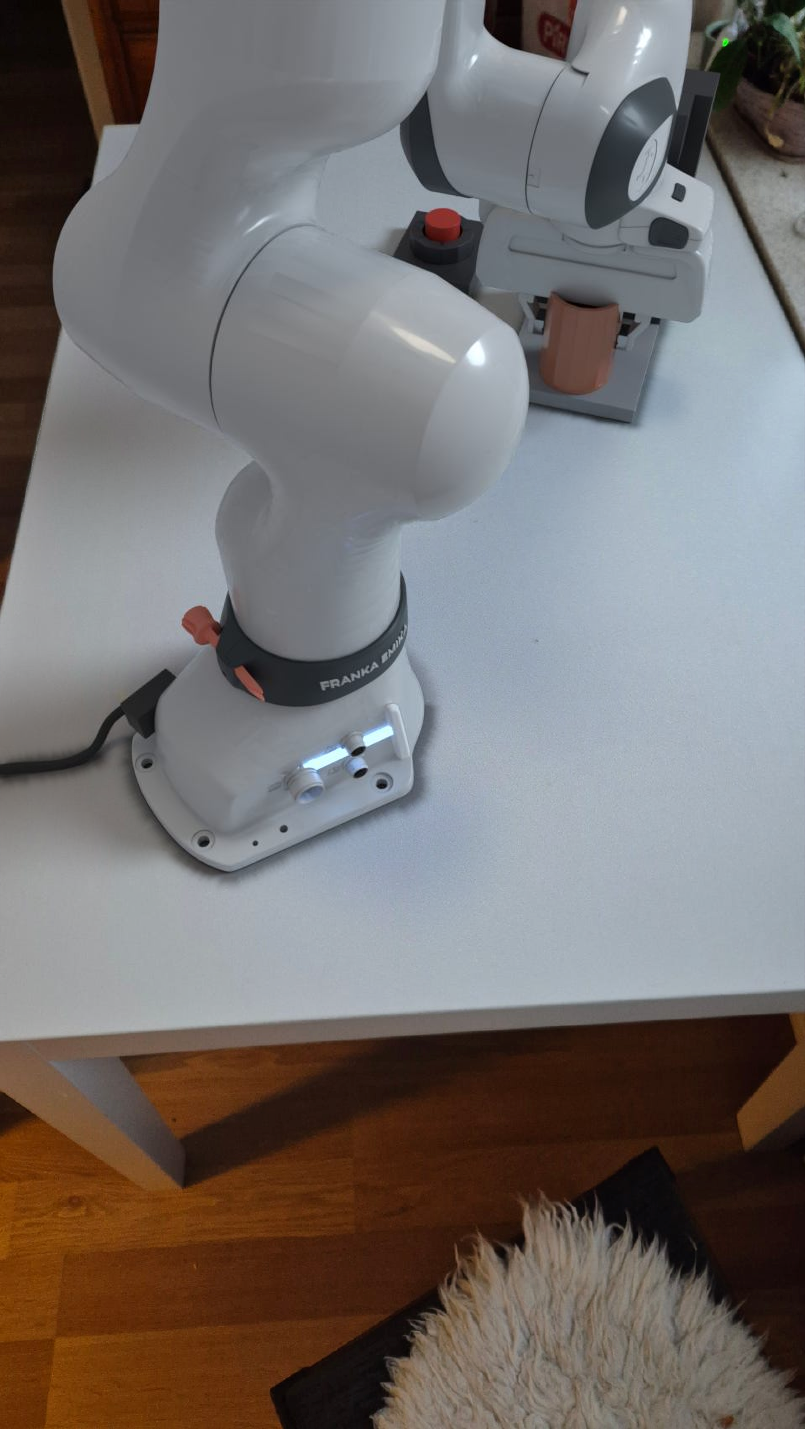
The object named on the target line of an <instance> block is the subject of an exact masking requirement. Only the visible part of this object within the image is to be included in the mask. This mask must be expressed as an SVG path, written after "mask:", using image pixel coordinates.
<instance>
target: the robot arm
mask: <svg viewBox="0 0 805 1429" xmlns="http://www.w3.org/2000/svg"><path fill="white" fill-rule="evenodd" d="M158 6H159V9H158V10H159V11H158V12H159V14H158V17H159V18H158V31H157V32H158V33H157V44H156V53H155V59H154V60H155V61H154V69H153V73H152V77H151V83H150V87H149V92H148V96H147V99H146V103H145V107H144V110H143V113H142V117H141V120H140V123H139V125H138V127H137V131H136V133H135V135H134V138H133V140H132V142H131V145H130V146H129V149H128V151H127V152H126V153H125V156H124V158H123V160H122V161H121V162H120V163H119V165H118V166H117V167H116V169H114V170H113V172H112V173H110V174H109V175H107V176H106V177H105V178H103V179H101V180H100V181H98V182H97V183H96V184H95V185H93V186H92V187H90V189H89V190H87V191H86V192H85V193H84V195H82V197H80V199H79V200H78V202H77V203H76V204H75V206H74V207H73V208H72V210H71V211H70V213H69V215H68V216H67V218H66V219H65V222H64V224H63V227H62V228H61V230H60V234H59V236H58V239H57V243H56V247H55V252H54V256H53V257H54V258H53V264H52V290H53V291H52V292H53V299H54V304H55V308H56V313H57V315H58V318H59V321H60V323H61V326H62V327H63V330H64V331H65V333H66V335H67V336H68V337H69V339H70V340H71V341H72V343H73V344H74V345H75V346H76V347H77V348H79V349H80V350H81V351H82V352H83V353H84V354H85V355H86V356H88V358H90V359H91V360H93V361H94V363H96V364H97V365H98V366H99V367H101V368H102V369H103V370H104V371H105V372H106V373H107V374H109V375H110V376H111V377H113V378H114V379H115V380H116V381H118V382H119V383H120V384H121V385H123V386H124V387H125V388H126V389H127V390H129V391H130V392H131V393H133V394H134V395H135V396H137V397H139V398H140V399H142V400H144V401H146V402H148V403H150V404H152V405H155V407H158V408H160V409H162V410H164V411H165V412H168V413H171V414H172V415H175V416H176V417H179V418H181V419H182V420H185V421H187V422H189V423H191V424H192V425H195V426H197V427H199V428H201V429H202V430H204V431H207V432H209V433H211V434H213V435H215V436H217V437H219V438H221V439H223V440H225V441H227V442H229V443H231V444H232V445H233V446H234V447H236V448H238V449H239V450H241V451H242V452H245V453H246V454H247V456H248V455H249V456H250V457H251V458H252V459H253V460H252V461H250V462H249V463H248V464H246V465H245V466H244V467H243V468H241V470H239V472H237V473H236V475H235V476H234V477H233V479H232V480H231V481H230V483H229V484H228V486H227V487H226V490H225V491H224V494H223V496H222V498H221V500H220V503H219V505H218V509H217V512H216V516H215V521H214V538H215V541H216V545H217V549H218V553H219V557H220V563H221V565H222V570H223V574H224V579H225V582H226V586H227V591H226V595H225V598H224V603H223V607H222V610H221V615H220V617H219V618H220V619H219V621H218V620H215V619H214V617H213V614H212V613H211V611H210V610H209V608H207V607H206V606H203V605H196V606H193V607H191V608H190V609H188V610H187V611H186V612H185V613H184V614H183V617H182V619H181V626H182V627H183V629H184V630H185V631H186V633H188V634H189V635H190V636H192V638H193V641H194V642H195V644H197V646H198V645H199V646H203V647H202V648H201V649H200V650H199V651H198V652H197V654H195V656H194V657H193V658H192V659H191V660H190V661H189V663H188V664H186V666H185V667H184V668H183V669H182V670H181V671H180V673H179V674H177V676H176V675H175V674H173V673H172V672H171V671H170V670H169V669H168V668H164V669H162V670H161V671H160V672H159V673H157V674H156V675H155V676H154V677H152V678H151V679H150V680H149V681H147V682H146V683H145V684H143V685H142V686H141V687H139V688H138V689H137V690H135V691H134V692H133V693H132V694H130V695H129V696H127V698H125V699H124V700H122V701H121V702H120V703H119V706H117V707H116V708H115V709H113V710H112V711H111V712H110V713H109V714H108V715H107V716H106V717H105V719H104V720H103V722H102V724H101V725H100V727H99V729H98V732H97V734H96V736H95V737H94V739H93V741H92V742H91V744H90V745H89V746H88V747H87V748H86V749H84V750H82V751H80V752H78V753H75V754H73V755H70V756H68V757H67V756H66V757H63V758H58V759H50V760H38V761H37V760H35V761H31V760H30V761H17V762H16V761H15V762H6V763H0V775H5V774H13V773H24V772H25V773H26V772H47V771H57V770H63V769H67V768H70V767H74V766H77V765H80V764H82V763H84V762H86V761H87V760H89V759H91V758H93V757H94V756H95V755H96V754H97V753H98V752H99V751H100V750H101V749H102V747H103V745H104V744H105V742H106V740H107V738H108V736H109V733H110V731H111V730H112V728H113V726H114V725H115V723H117V722H118V720H120V719H121V718H122V717H123V716H125V718H126V720H127V722H128V725H129V726H130V727H131V728H132V729H134V730H135V731H136V732H135V734H134V735H133V737H132V743H131V758H132V760H131V761H132V766H133V770H134V774H135V778H136V781H137V783H138V786H139V788H140V791H141V793H142V795H143V797H144V800H145V801H146V803H147V804H148V806H149V808H150V809H151V811H152V813H153V814H154V815H155V817H156V819H157V820H158V821H159V823H160V824H161V825H162V826H163V828H164V829H165V830H166V832H167V833H168V834H169V835H170V836H171V838H173V840H174V841H175V842H176V843H177V844H178V845H179V846H180V847H181V848H182V849H184V850H185V851H186V852H187V853H188V854H190V855H191V856H192V857H194V858H196V859H197V860H198V861H200V862H202V863H204V864H205V865H208V866H209V867H212V868H214V869H217V870H221V871H223V872H235V871H238V870H240V869H243V868H245V867H247V866H249V865H251V864H254V863H256V862H259V861H261V860H264V859H266V858H267V857H270V856H272V855H274V854H277V853H279V852H281V851H283V850H286V849H288V848H290V847H292V846H295V845H297V844H299V843H301V842H304V841H307V840H308V839H310V838H313V837H315V836H318V835H320V834H323V833H324V832H327V831H329V830H330V829H334V828H335V827H337V826H340V825H342V824H344V823H346V822H349V821H350V820H353V819H356V818H358V817H360V816H362V815H365V814H367V813H369V812H371V811H373V810H376V809H378V808H380V807H382V806H385V805H387V804H390V803H392V802H394V801H396V800H398V799H401V798H402V797H404V796H406V795H407V794H408V793H410V792H411V791H412V788H413V786H414V781H415V780H414V779H415V778H414V777H415V775H414V774H415V773H414V762H413V761H414V760H413V754H414V750H415V746H416V744H417V742H418V739H419V737H420V734H421V731H422V728H423V723H424V718H425V699H424V695H423V694H424V693H423V690H422V687H421V684H420V682H419V679H418V677H417V676H416V674H415V672H414V670H413V669H412V667H411V664H410V661H409V657H408V654H407V649H406V640H407V635H408V629H409V611H408V608H409V607H408V595H407V585H406V581H405V580H406V579H405V577H404V575H403V571H402V570H401V557H402V556H401V555H402V554H401V553H402V540H403V539H402V537H403V530H404V526H406V525H410V524H413V523H419V522H436V521H440V520H443V519H444V518H447V517H449V516H452V515H455V514H456V513H458V512H460V511H462V510H464V509H465V508H467V507H469V506H471V504H473V503H474V502H476V500H478V499H479V498H481V497H482V496H483V495H484V494H486V493H487V491H489V490H490V489H491V488H492V487H493V486H494V484H496V482H498V480H499V479H500V478H501V476H502V475H503V474H504V472H505V471H506V469H507V468H508V466H509V465H510V463H511V461H512V460H513V457H515V454H516V453H517V452H516V451H517V450H518V448H519V445H520V444H521V440H522V437H523V435H524V431H525V426H526V423H527V418H528V413H529V404H530V402H529V379H528V369H527V364H526V360H525V355H524V351H523V348H522V346H521V343H520V340H519V337H518V335H519V334H518V333H517V332H516V331H515V329H514V328H513V327H512V326H510V324H508V323H507V322H505V321H504V320H502V319H501V318H499V317H498V316H497V315H495V314H494V313H493V312H491V310H489V309H487V308H486V307H485V306H483V305H482V304H481V303H479V302H477V301H476V300H475V299H473V298H472V297H471V298H470V297H469V296H467V295H466V294H464V293H463V292H461V291H460V290H458V289H457V288H455V287H454V286H452V285H451V284H449V283H448V282H446V281H445V280H443V279H442V278H440V277H439V276H437V275H436V274H434V273H431V272H429V271H426V270H424V269H421V268H419V267H416V266H414V265H411V264H409V263H406V262H404V261H401V260H399V259H396V258H394V257H392V256H391V255H389V254H386V253H383V252H381V251H378V250H376V249H372V248H371V247H368V246H366V245H363V244H360V243H358V242H355V241H353V240H350V239H348V238H345V237H343V236H341V235H338V234H335V233H333V232H330V231H328V230H327V229H325V228H324V227H322V226H321V224H320V221H319V217H318V197H319V191H320V187H321V182H322V179H323V175H324V172H325V169H326V166H327V164H328V161H329V159H330V157H331V155H334V154H337V153H342V152H344V151H347V150H350V149H353V148H355V147H359V146H361V145H363V144H366V143H368V142H371V141H373V140H375V139H378V138H380V137H382V136H383V135H385V134H388V133H389V132H390V131H392V130H393V129H395V128H397V127H398V126H399V140H400V145H401V148H402V151H403V154H404V156H405V158H406V161H407V163H408V165H409V166H410V168H411V170H412V172H413V174H414V176H415V177H416V179H417V180H418V182H419V183H420V185H421V186H422V187H423V188H424V189H425V190H427V191H429V192H432V193H437V194H444V195H448V196H454V197H460V198H465V199H475V200H478V210H477V211H478V217H479V221H481V223H482V224H483V225H484V229H483V232H482V236H481V240H480V245H479V250H478V255H477V262H476V276H477V277H478V279H479V280H478V281H479V282H480V283H481V285H482V286H484V287H487V288H492V289H498V290H503V291H509V292H515V293H518V303H519V305H520V307H521V308H522V310H523V313H524V314H525V317H526V316H527V318H529V321H528V331H527V332H528V333H532V334H537V335H543V333H544V325H545V317H546V309H543V308H540V306H539V304H538V301H537V299H536V296H541V297H547V298H549V297H550V294H551V292H556V293H557V295H558V297H559V298H561V299H562V300H564V301H569V302H574V303H579V304H585V305H590V306H596V307H607V306H609V305H611V304H613V303H617V304H619V311H623V312H629V313H634V314H636V315H635V320H634V321H633V322H632V323H631V325H630V324H623V323H622V325H621V328H620V332H619V334H618V339H617V344H616V349H618V350H622V351H627V352H631V351H632V347H633V344H634V340H635V338H636V337H637V336H638V335H639V334H640V333H641V332H643V331H644V330H645V329H646V328H647V327H648V326H649V325H650V321H651V318H652V317H656V318H661V320H668V321H673V322H679V323H683V324H690V323H692V322H694V321H696V320H697V319H698V318H699V317H701V315H702V313H703V310H704V306H705V303H706V299H707V294H708V289H709V286H710V280H711V275H712V270H713V263H714V262H713V260H714V252H715V251H714V250H715V249H714V248H715V237H714V231H713V229H712V226H711V222H712V218H713V212H714V206H715V192H714V189H713V188H712V187H711V186H710V185H708V184H706V183H705V182H703V181H701V180H699V179H697V178H693V177H691V176H689V175H687V174H685V173H683V172H681V171H680V170H678V169H676V168H674V167H673V166H671V165H669V164H668V163H667V157H668V153H669V149H670V145H671V140H672V135H673V131H674V126H675V121H676V116H677V110H678V106H679V102H680V97H681V92H682V87H683V82H684V76H685V70H686V68H687V63H688V56H689V48H690V40H691V30H692V20H693V19H692V18H693V0H577V1H576V6H575V11H574V15H573V20H572V24H571V28H570V33H569V40H568V44H567V51H566V54H567V56H566V55H565V56H566V62H565V61H563V60H559V59H556V58H553V57H549V56H544V55H540V54H536V53H533V52H527V51H524V50H520V49H516V48H513V47H509V46H508V45H506V44H504V43H503V42H501V41H499V40H498V39H496V38H495V36H492V34H491V33H490V32H489V31H488V30H487V28H486V27H485V24H484V18H485V9H486V0H159V5H158ZM148 764H152V765H151V766H150V767H148V768H145V766H147V765H148ZM380 784H383V785H386V787H385V788H379V787H378V786H379V785H380ZM204 841H207V842H209V843H208V844H207V845H206V846H201V843H202V842H204Z"/></svg>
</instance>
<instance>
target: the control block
mask: <svg viewBox="0 0 805 1429" xmlns="http://www.w3.org/2000/svg"><path fill="white" fill-rule="evenodd" d="M428 212H429V211H423V210H416V211H415V212H414V215H413V216H412V219H411V220H410V222H409V224H408V226H407V228H406V230H405V232H404V234H403V235H402V238H401V239H400V241H399V243H398V245H397V247H396V249H395V251H394V253H393V254H392V256H391V257H394V258H396V259H399V260H401V261H404V262H406V263H409V264H411V265H414V266H416V267H419V268H421V269H424V270H426V271H429V272H431V273H434V274H436V275H437V276H439V277H440V278H442V279H443V280H445V281H446V282H448V283H449V284H451V285H452V286H454V287H455V288H457V289H458V290H460V291H461V292H463V293H464V294H466V295H467V296H469V297H470V298H472V296H473V293H474V292H475V289H476V287H477V284H478V282H479V281H480V280H479V279H478V277H477V276H476V262H477V255H478V250H479V245H480V240H481V236H482V232H483V229H484V225H483V224H482V223H481V221H480V220H475V219H469V218H466V217H464V216H463V215H461V214H459V216H460V235H459V237H458V238H457V239H455V240H453V241H449V242H437V241H431V240H430V239H428V238H427V237H426V235H425V217H426V215H427V213H428Z"/></svg>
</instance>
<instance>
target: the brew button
mask: <svg viewBox="0 0 805 1429" xmlns="http://www.w3.org/2000/svg"><path fill="white" fill-rule="evenodd" d="M427 212H428V213H427V215H426V217H425V235H426V237H427V238H428V239H430V240H431V241H437V242H449V241H453V240H455V239H457V238H458V237H459V235H460V216H459V215H460V214H459V213H458V211H456V210H454V209H452V208H447V207H439V208H434V209H432V210H429V211H427Z"/></svg>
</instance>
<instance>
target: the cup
mask: <svg viewBox="0 0 805 1429" xmlns="http://www.w3.org/2000/svg"><path fill="white" fill-rule="evenodd" d="M623 313H624V312H623V311H619V304H617V303H613V304H611V305H609V306H607V307H596V306H590V305H585V304H579V303H574V302H569V301H564V300H562V299H561V298H559V297H558V295H557V293H556V292H551V294H550V297H549V298H548V301H547V309H546V317H545V325H544V333H543V340H542V348H541V356H540V365H539V372H540V375H541V377H542V379H543V380H544V382H545V383H546V384H547V385H549V386H550V387H552V388H553V389H555V390H558V391H560V392H563V393H568V394H587V393H592V392H594V391H597V390H599V389H600V388H602V387H603V386H604V385H605V384H606V383H607V382H608V380H609V378H610V375H611V372H612V367H613V362H614V357H615V352H616V344H617V339H618V334H619V332H620V327H621V323H622V318H623Z"/></svg>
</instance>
